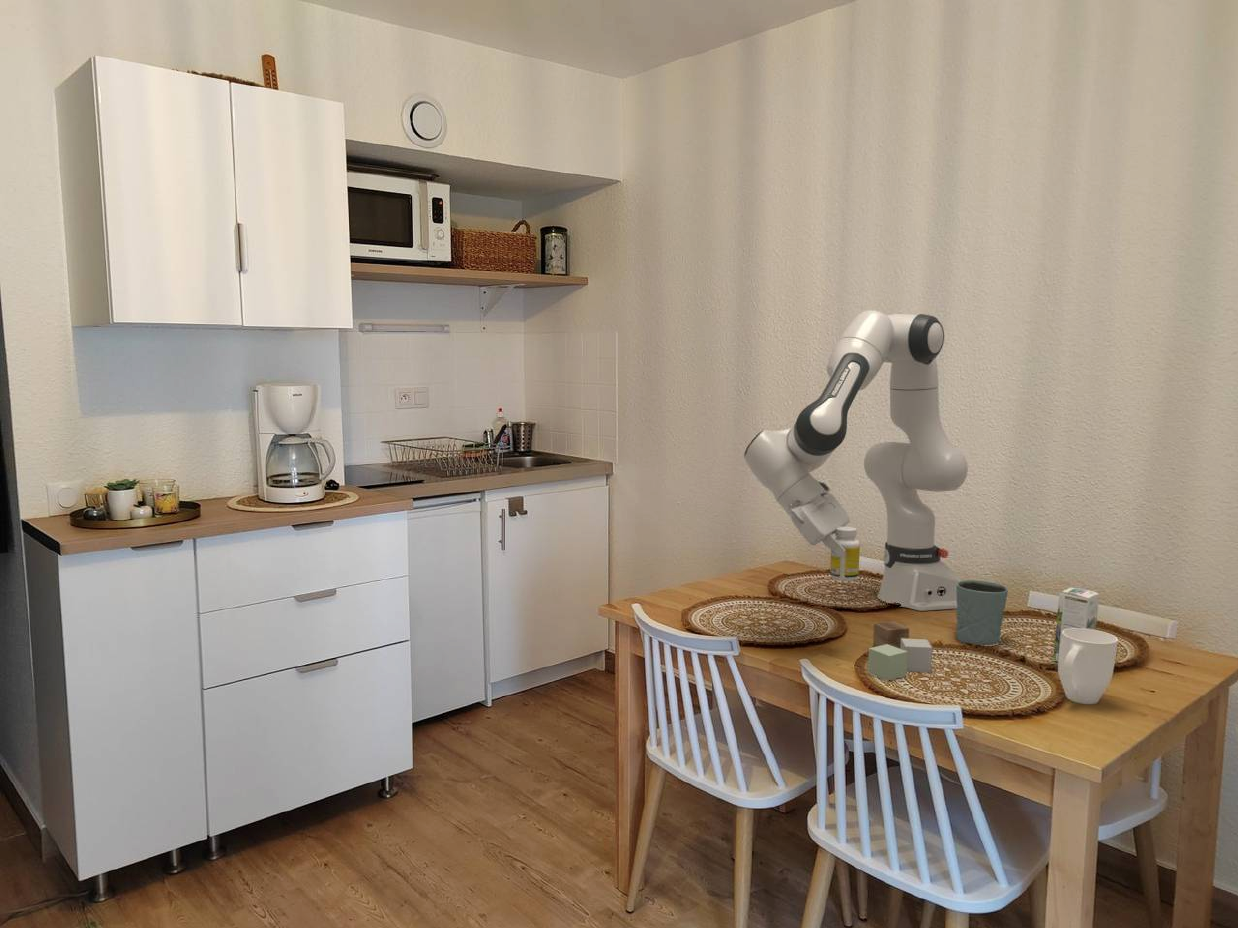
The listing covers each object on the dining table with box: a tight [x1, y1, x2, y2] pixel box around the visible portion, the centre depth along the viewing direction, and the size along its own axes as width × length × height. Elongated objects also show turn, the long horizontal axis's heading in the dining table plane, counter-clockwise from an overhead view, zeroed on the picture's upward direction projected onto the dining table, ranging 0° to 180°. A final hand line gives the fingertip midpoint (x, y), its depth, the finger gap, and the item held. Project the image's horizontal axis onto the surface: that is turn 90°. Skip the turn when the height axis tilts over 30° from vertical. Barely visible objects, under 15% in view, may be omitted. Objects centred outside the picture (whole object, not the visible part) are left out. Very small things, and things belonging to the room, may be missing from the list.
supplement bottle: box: [829, 526, 861, 582], centre depth 183 cm, size 6×6×10 cm
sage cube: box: [867, 644, 908, 681], centre depth 172 cm, size 5×5×5 cm
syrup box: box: [1052, 587, 1100, 661], centre depth 180 cm, size 6×6×14 cm
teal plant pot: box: [955, 579, 1009, 645], centre depth 193 cm, size 10×10×12 cm
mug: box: [1057, 628, 1119, 705], centre depth 160 cm, size 12×9×12 cm
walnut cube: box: [872, 620, 910, 649], centre depth 188 cm, size 5×5×5 cm
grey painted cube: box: [900, 638, 933, 673], centre depth 177 cm, size 5×5×5 cm
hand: (848, 550), depth 182 cm, fingers closed on supplement bottle, 6 cm apart
